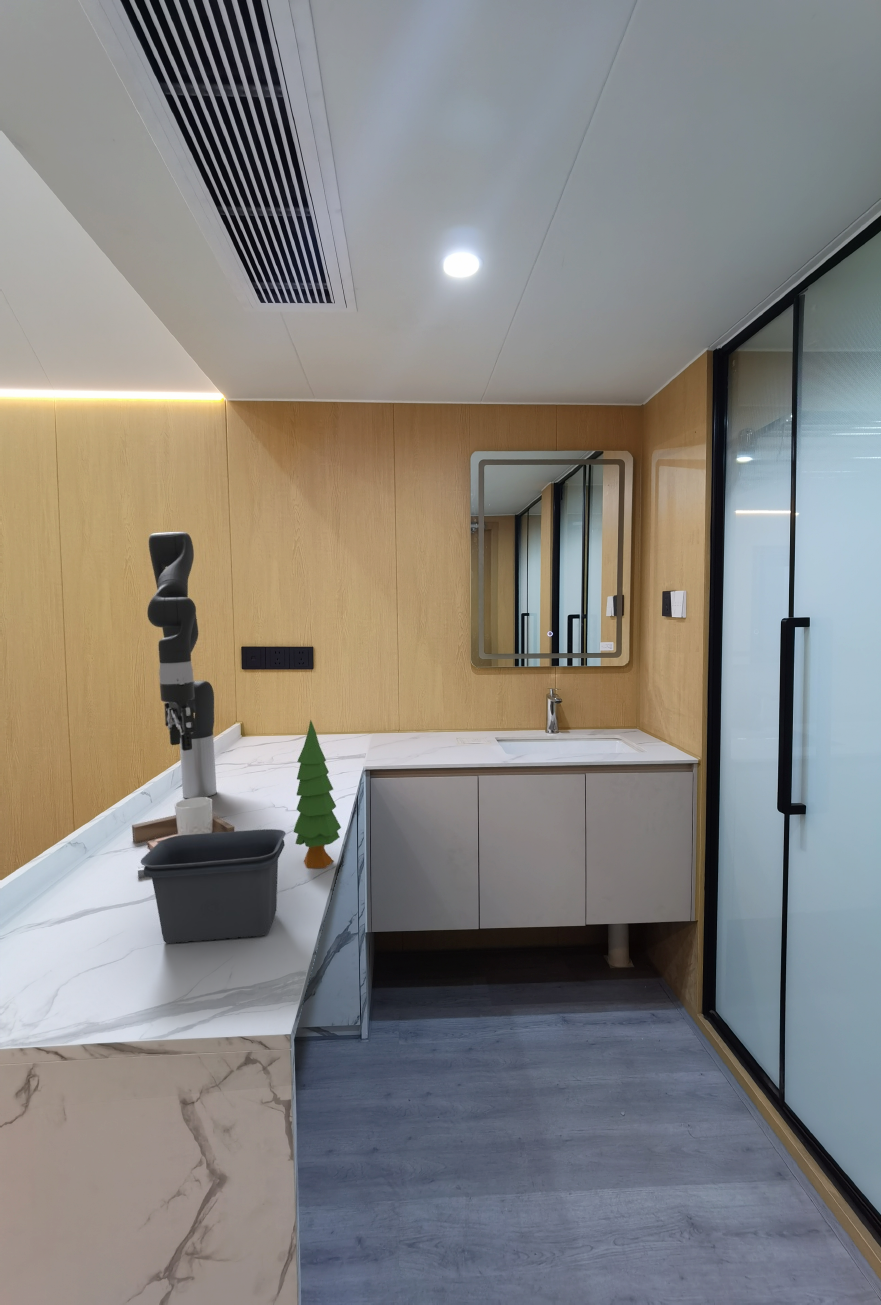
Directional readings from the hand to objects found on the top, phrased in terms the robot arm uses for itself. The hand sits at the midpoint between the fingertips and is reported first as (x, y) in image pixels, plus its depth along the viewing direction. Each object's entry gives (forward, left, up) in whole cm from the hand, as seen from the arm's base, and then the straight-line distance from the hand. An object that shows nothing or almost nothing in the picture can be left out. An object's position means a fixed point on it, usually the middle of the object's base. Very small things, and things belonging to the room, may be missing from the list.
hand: (181, 747), depth 153 cm
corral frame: (+13, -3, -20) cm, 24 cm away
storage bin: (+54, -12, -21) cm, 59 cm away
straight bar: (+24, -9, -21) cm, 33 cm away
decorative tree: (+42, +13, -21) cm, 49 cm away
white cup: (+13, -2, -21) cm, 24 cm away
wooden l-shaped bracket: (+8, -3, -21) cm, 22 cm away
